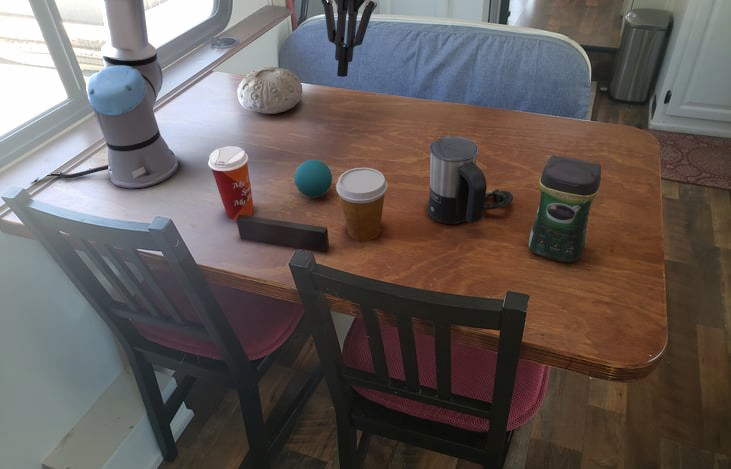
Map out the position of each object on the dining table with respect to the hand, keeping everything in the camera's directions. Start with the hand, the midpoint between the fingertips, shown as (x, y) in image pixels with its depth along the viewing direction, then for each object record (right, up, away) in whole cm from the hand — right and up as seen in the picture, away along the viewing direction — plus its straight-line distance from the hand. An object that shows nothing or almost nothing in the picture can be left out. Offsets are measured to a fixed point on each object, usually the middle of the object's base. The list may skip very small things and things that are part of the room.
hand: (342, 76), depth 126 cm
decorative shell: (-21, -1, +26) cm, 34 cm away
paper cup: (-21, -33, -13) cm, 41 cm away
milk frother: (+27, -32, -15) cm, 44 cm away
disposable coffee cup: (+5, -36, -19) cm, 42 cm away
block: (-10, -39, -21) cm, 45 cm away
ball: (-6, -25, -11) cm, 28 cm away
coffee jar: (+41, -40, -26) cm, 62 cm away
